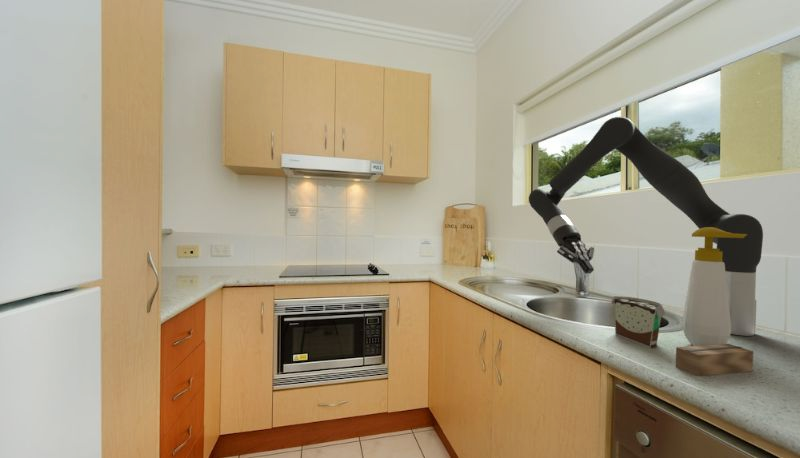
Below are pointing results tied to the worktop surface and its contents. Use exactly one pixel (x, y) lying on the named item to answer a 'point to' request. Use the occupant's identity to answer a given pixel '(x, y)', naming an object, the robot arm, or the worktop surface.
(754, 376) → the worktop surface
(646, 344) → the food container
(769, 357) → the worktop surface
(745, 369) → the timber batten
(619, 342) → the worktop surface
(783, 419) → the worktop surface
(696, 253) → the soap bottle
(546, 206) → the robot arm
